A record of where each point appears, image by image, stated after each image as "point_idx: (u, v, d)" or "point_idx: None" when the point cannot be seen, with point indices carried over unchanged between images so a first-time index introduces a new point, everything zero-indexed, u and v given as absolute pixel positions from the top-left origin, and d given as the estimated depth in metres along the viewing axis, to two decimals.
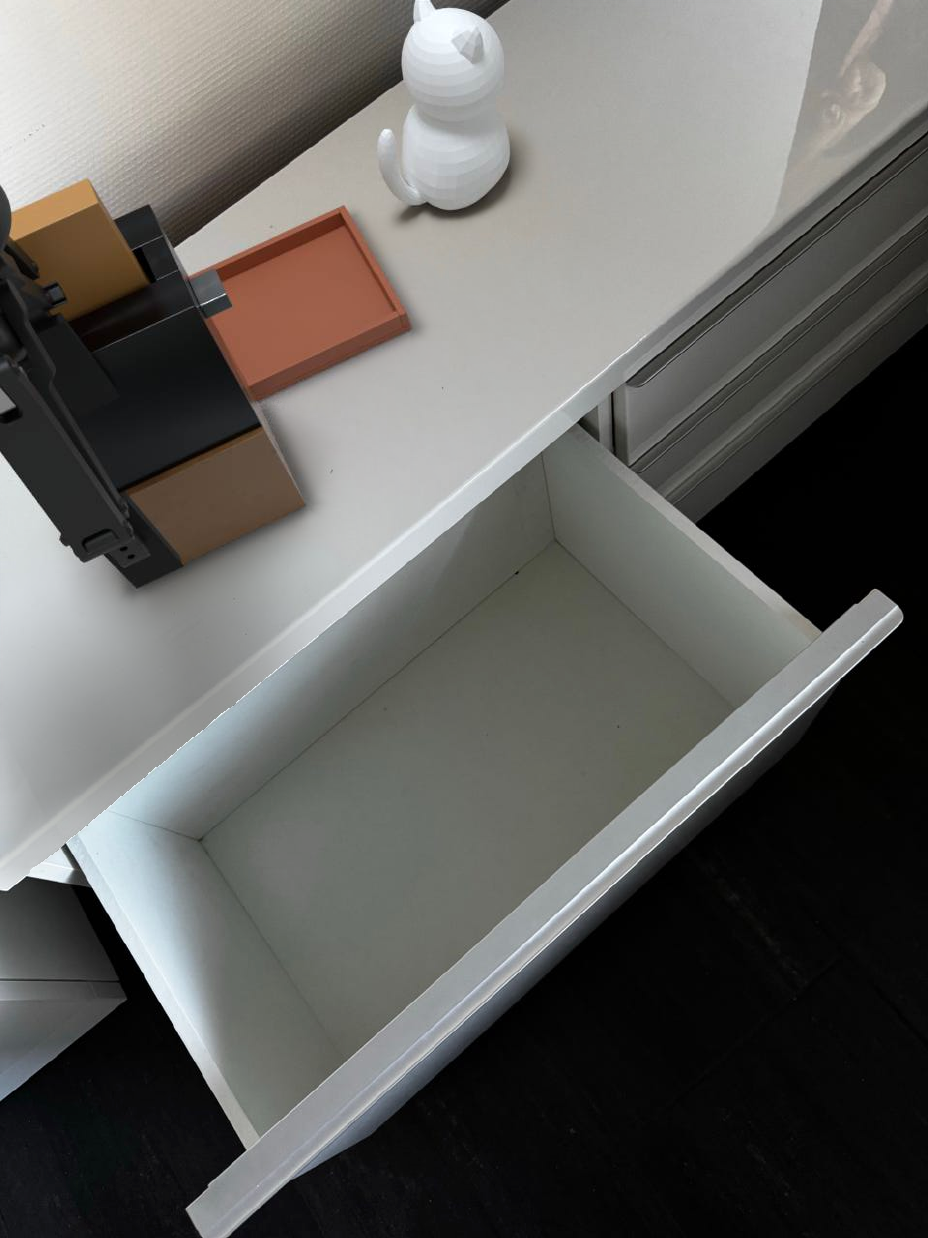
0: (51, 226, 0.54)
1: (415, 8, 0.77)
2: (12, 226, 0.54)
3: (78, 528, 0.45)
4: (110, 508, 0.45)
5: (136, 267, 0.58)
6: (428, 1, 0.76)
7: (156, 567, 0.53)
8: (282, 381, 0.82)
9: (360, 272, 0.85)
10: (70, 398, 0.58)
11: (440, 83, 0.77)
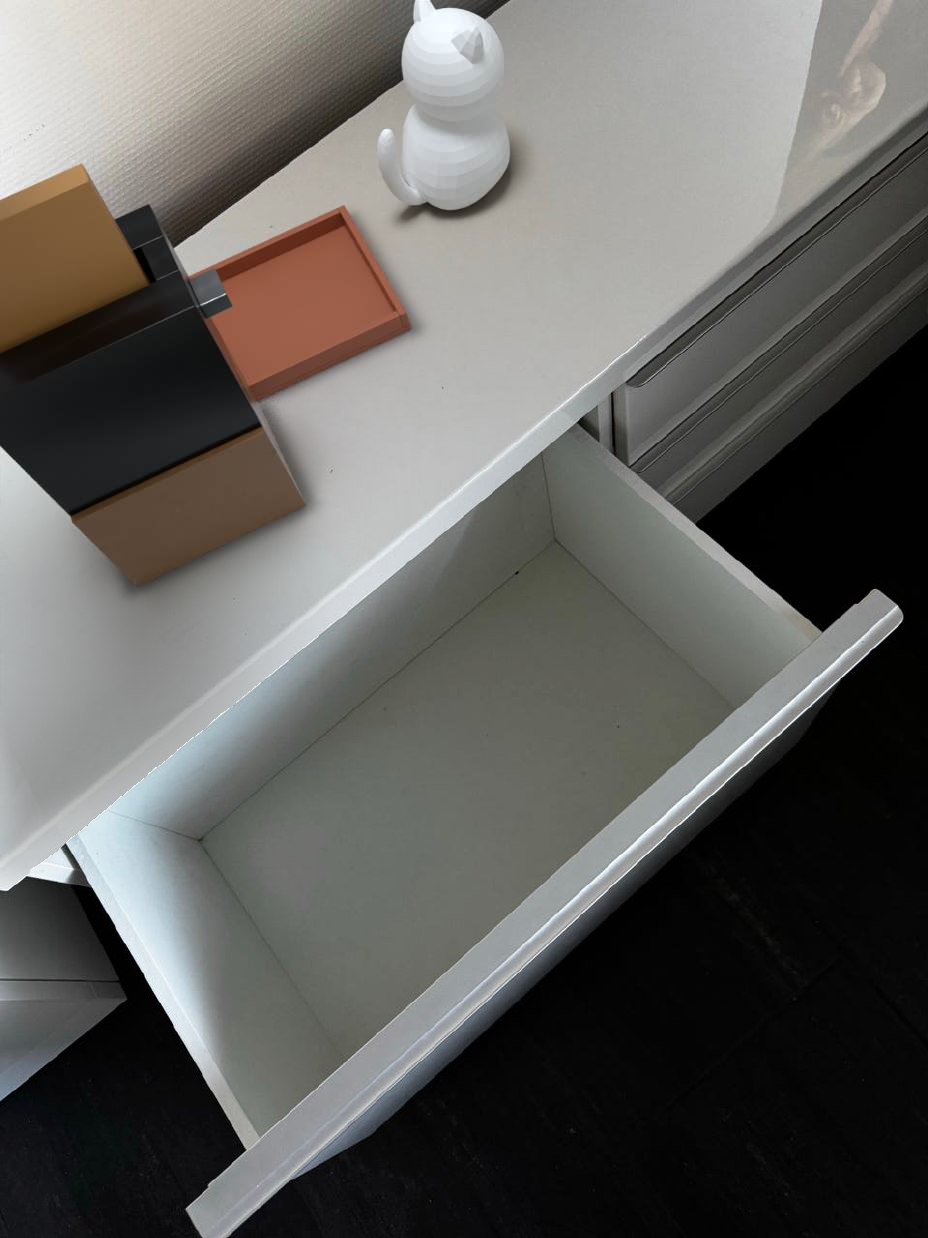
0: (42, 204, 0.54)
1: (415, 8, 0.77)
2: (5, 207, 0.54)
3: None
4: None
5: (131, 257, 0.58)
6: (428, 1, 0.76)
7: None
8: (282, 381, 0.82)
9: (360, 272, 0.85)
10: None
11: (440, 83, 0.77)
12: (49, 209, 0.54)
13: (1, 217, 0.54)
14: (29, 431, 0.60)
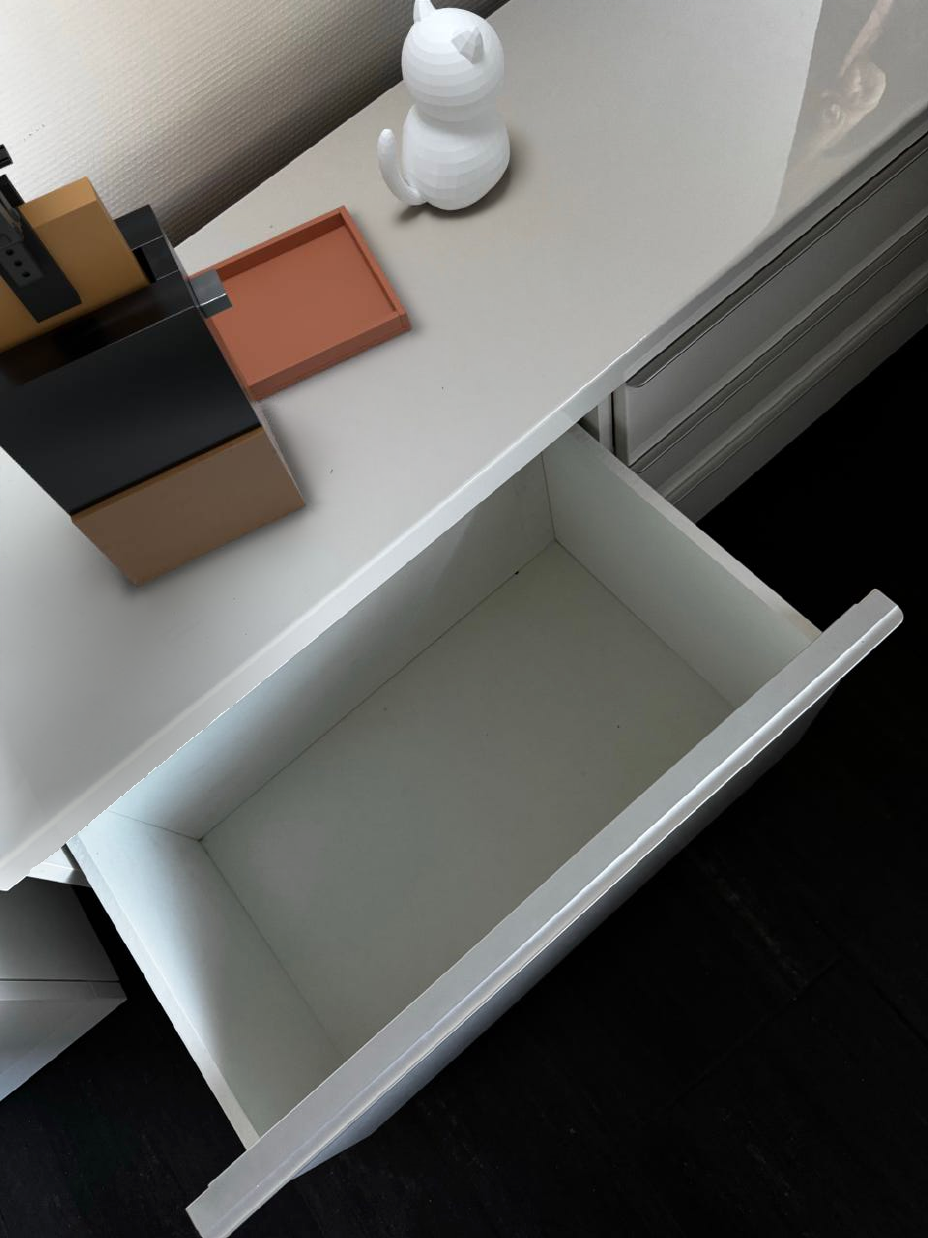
0: (50, 223, 0.54)
1: (415, 8, 0.77)
2: None
3: None
4: (4, 216, 0.48)
5: (135, 266, 0.58)
6: (428, 1, 0.76)
7: (55, 300, 0.57)
8: (282, 381, 0.82)
9: (360, 272, 0.85)
10: None
11: (440, 83, 0.77)
12: (56, 227, 0.54)
13: None
14: (29, 431, 0.60)
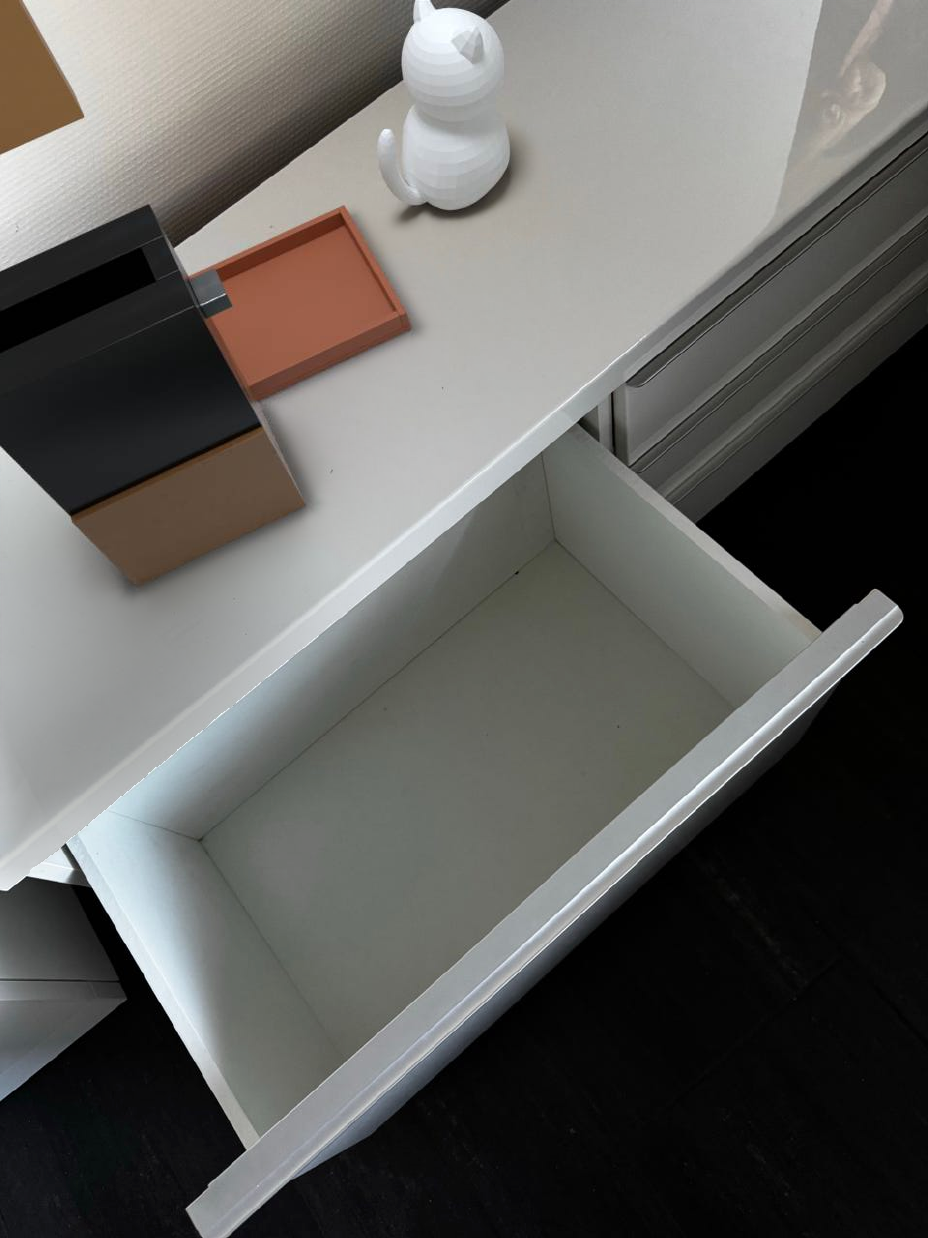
0: None
1: (415, 8, 0.77)
2: None
3: None
4: None
5: (30, 24, 0.47)
6: (428, 1, 0.76)
7: None
8: (282, 381, 0.82)
9: (360, 272, 0.85)
10: None
11: (440, 83, 0.77)
12: None
13: None
14: (29, 431, 0.60)
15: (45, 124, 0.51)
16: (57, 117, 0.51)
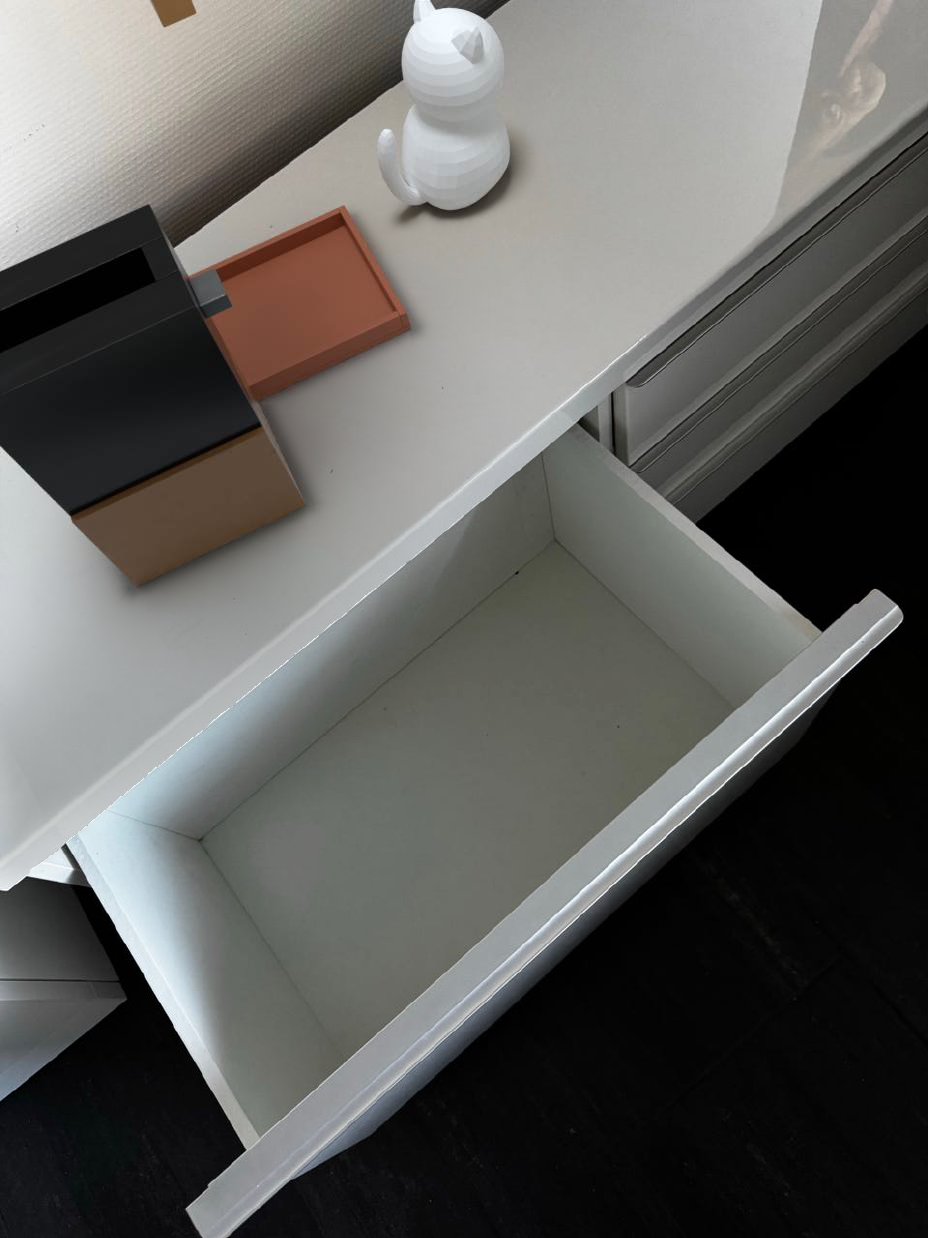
0: None
1: (415, 8, 0.77)
2: None
3: None
4: None
5: None
6: (428, 1, 0.76)
7: None
8: (282, 381, 0.82)
9: (360, 272, 0.85)
10: None
11: (440, 83, 0.77)
12: None
13: None
14: (29, 431, 0.60)
15: (150, 0, 0.57)
16: (153, 6, 0.57)
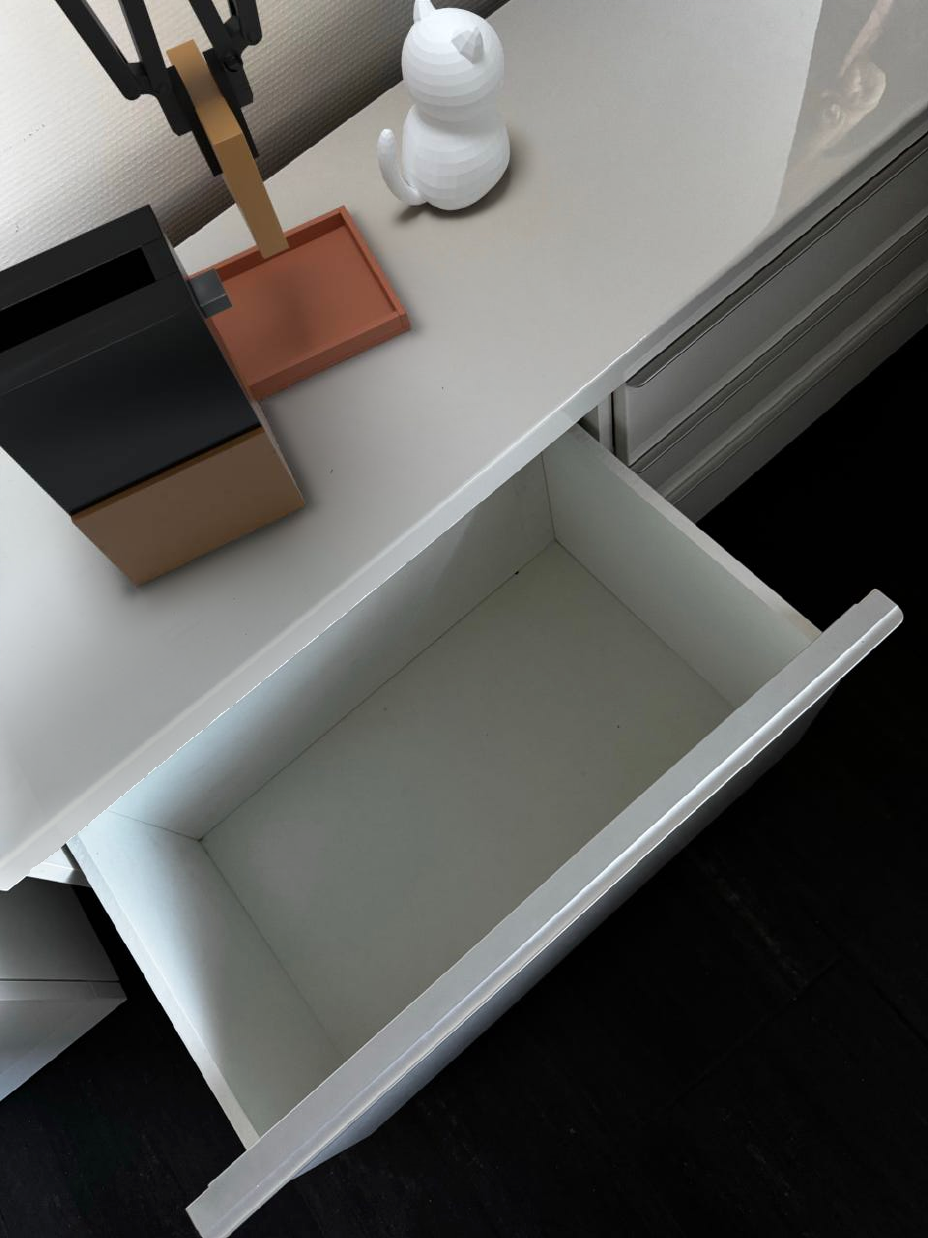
0: (200, 120, 0.65)
1: (415, 8, 0.77)
2: (204, 93, 0.66)
3: None
4: (110, 76, 0.61)
5: (239, 204, 0.68)
6: (428, 1, 0.76)
7: (203, 155, 0.69)
8: (282, 381, 0.82)
9: (360, 272, 0.85)
10: None
11: (440, 83, 0.77)
12: None
13: (191, 95, 0.66)
14: (29, 431, 0.60)
15: None
16: None
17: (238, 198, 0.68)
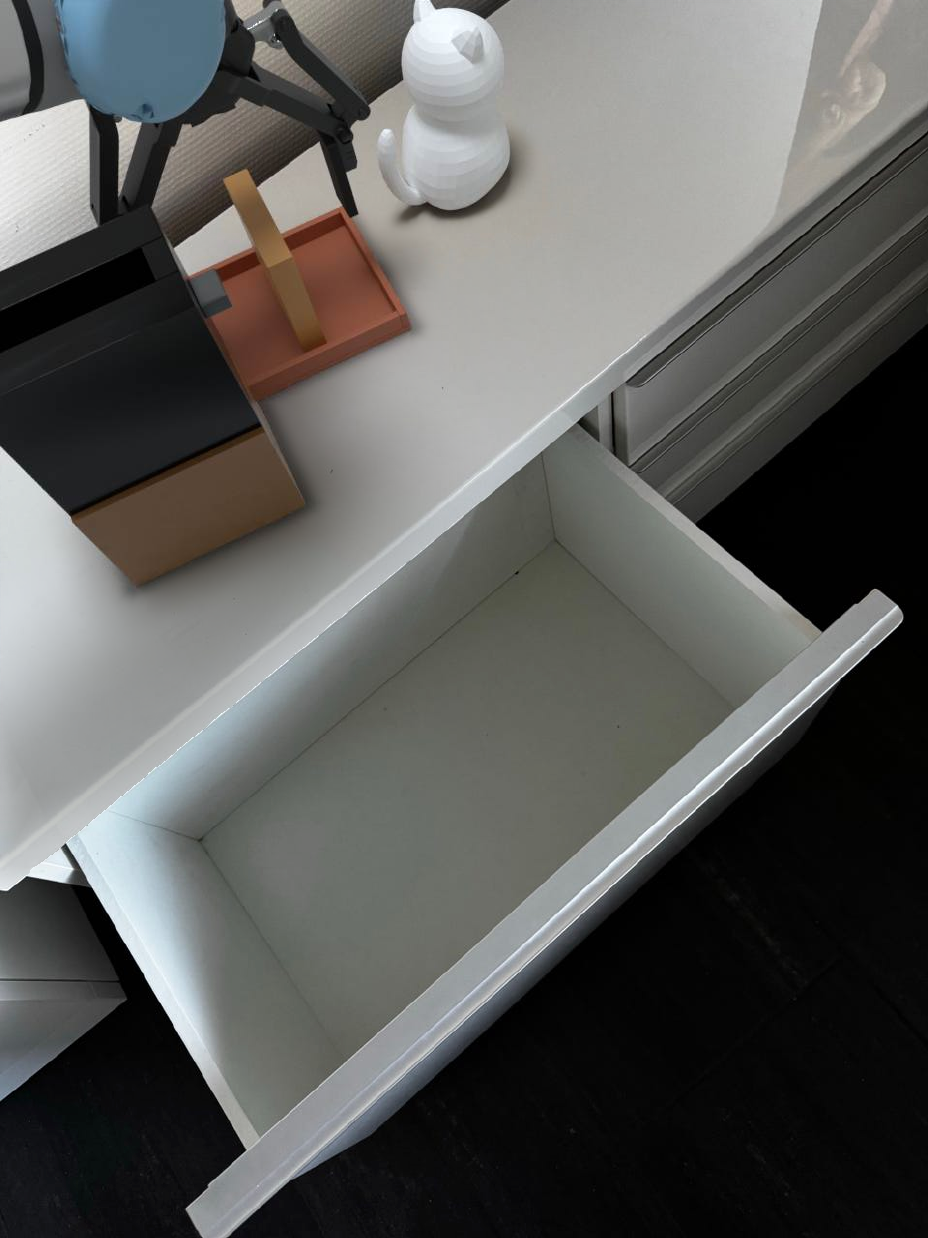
0: (255, 244, 0.75)
1: (415, 8, 0.77)
2: (257, 220, 0.75)
3: (92, 196, 0.69)
4: (100, 209, 0.68)
5: (286, 312, 0.78)
6: (428, 1, 0.76)
7: None
8: (282, 381, 0.82)
9: (360, 272, 0.85)
10: (333, 183, 0.77)
11: (440, 83, 0.77)
12: (257, 249, 0.75)
13: (247, 221, 0.76)
14: (29, 431, 0.60)
15: None
16: (298, 340, 0.82)
17: (286, 308, 0.77)
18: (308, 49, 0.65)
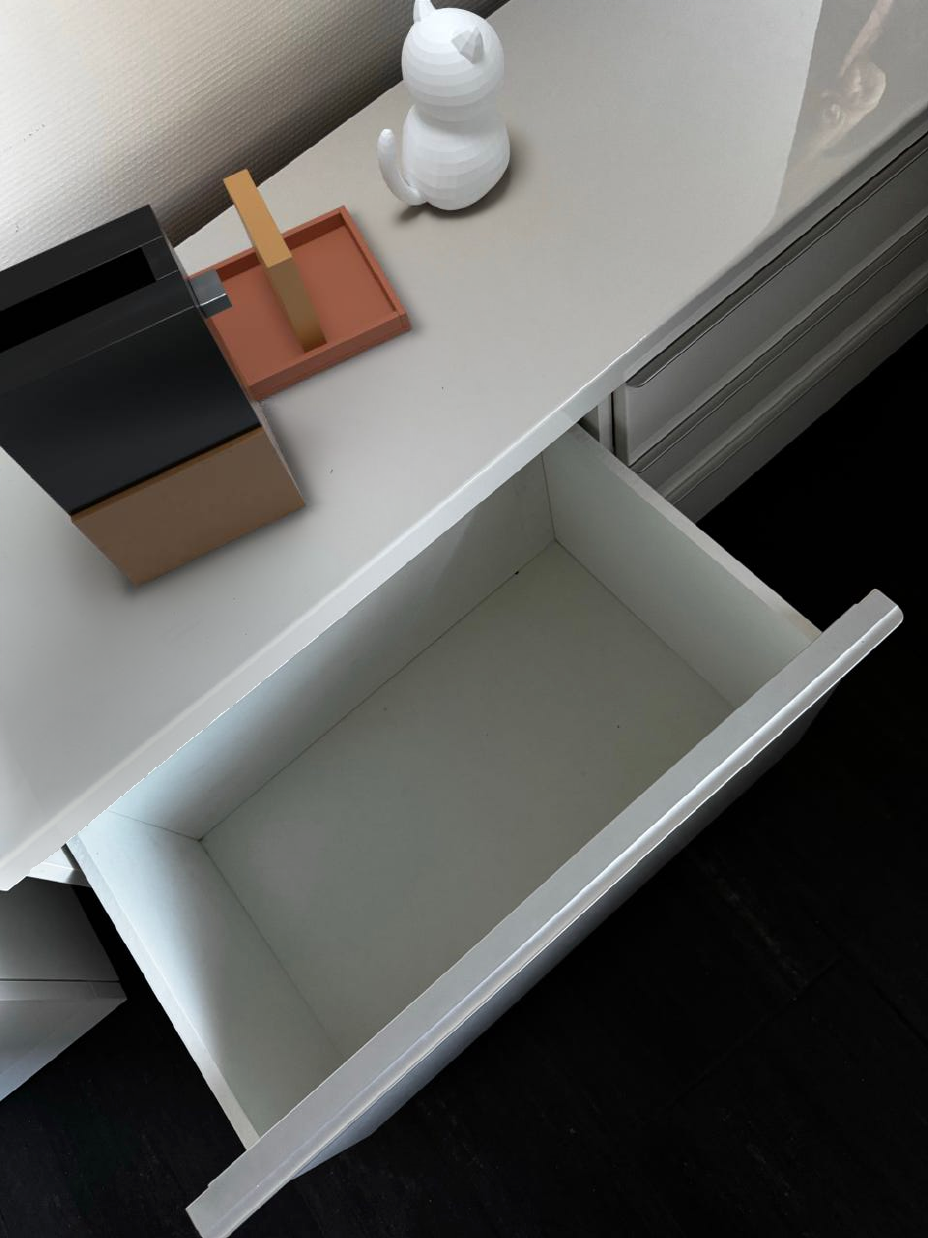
0: (255, 244, 0.75)
1: (415, 8, 0.77)
2: (257, 220, 0.75)
3: None
4: None
5: (286, 312, 0.78)
6: (428, 1, 0.76)
7: None
8: (282, 381, 0.82)
9: (360, 272, 0.85)
10: None
11: (440, 83, 0.77)
12: (257, 249, 0.75)
13: (247, 221, 0.76)
14: (29, 431, 0.60)
15: None
16: (298, 340, 0.82)
17: (286, 308, 0.77)
18: None
